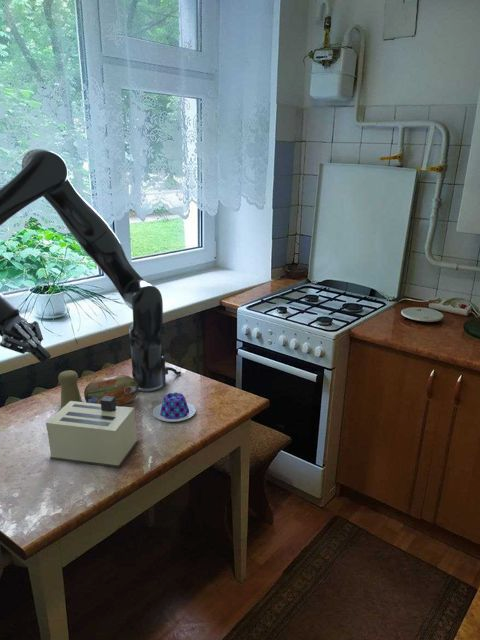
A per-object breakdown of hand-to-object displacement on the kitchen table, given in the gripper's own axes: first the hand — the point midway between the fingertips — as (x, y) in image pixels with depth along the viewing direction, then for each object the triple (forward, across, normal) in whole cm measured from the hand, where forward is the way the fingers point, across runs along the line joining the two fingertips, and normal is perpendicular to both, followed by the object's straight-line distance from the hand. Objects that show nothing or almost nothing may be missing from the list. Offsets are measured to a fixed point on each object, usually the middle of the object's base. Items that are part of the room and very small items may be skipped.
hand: (47, 359), depth 119 cm
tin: (+20, +20, +12) cm, 30 cm away
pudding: (+33, +18, -2) cm, 38 cm away
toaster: (+24, -4, +7) cm, 25 cm away
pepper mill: (+12, +16, +19) cm, 27 cm away
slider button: (+18, 0, -2) cm, 19 cm away
